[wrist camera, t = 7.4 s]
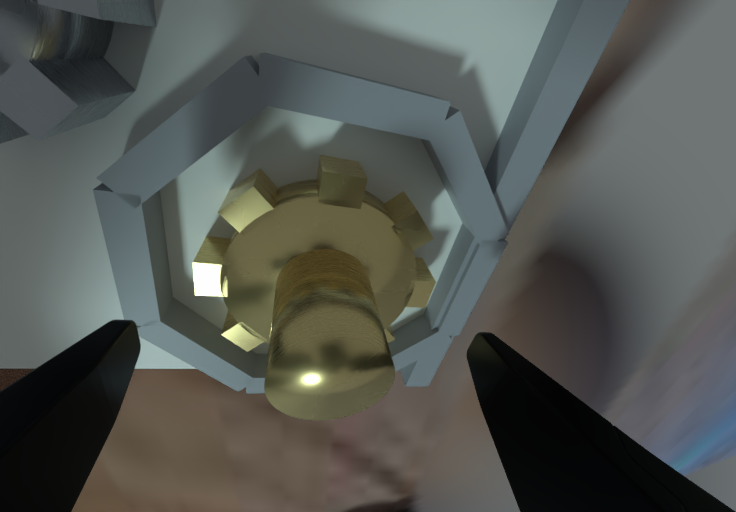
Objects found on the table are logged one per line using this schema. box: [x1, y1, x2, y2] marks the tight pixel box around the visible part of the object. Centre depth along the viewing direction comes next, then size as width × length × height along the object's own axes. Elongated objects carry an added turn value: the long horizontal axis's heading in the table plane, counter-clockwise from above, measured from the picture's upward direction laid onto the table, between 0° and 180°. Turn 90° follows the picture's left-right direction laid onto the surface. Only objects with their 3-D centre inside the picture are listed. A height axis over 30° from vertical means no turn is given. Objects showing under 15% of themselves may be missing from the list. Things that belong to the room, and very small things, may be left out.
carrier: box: [0, 0, 630, 393], centre depth 9 cm, size 18×17×2 cm
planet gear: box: [193, 155, 436, 420], centre depth 9 cm, size 8×8×5 cm
